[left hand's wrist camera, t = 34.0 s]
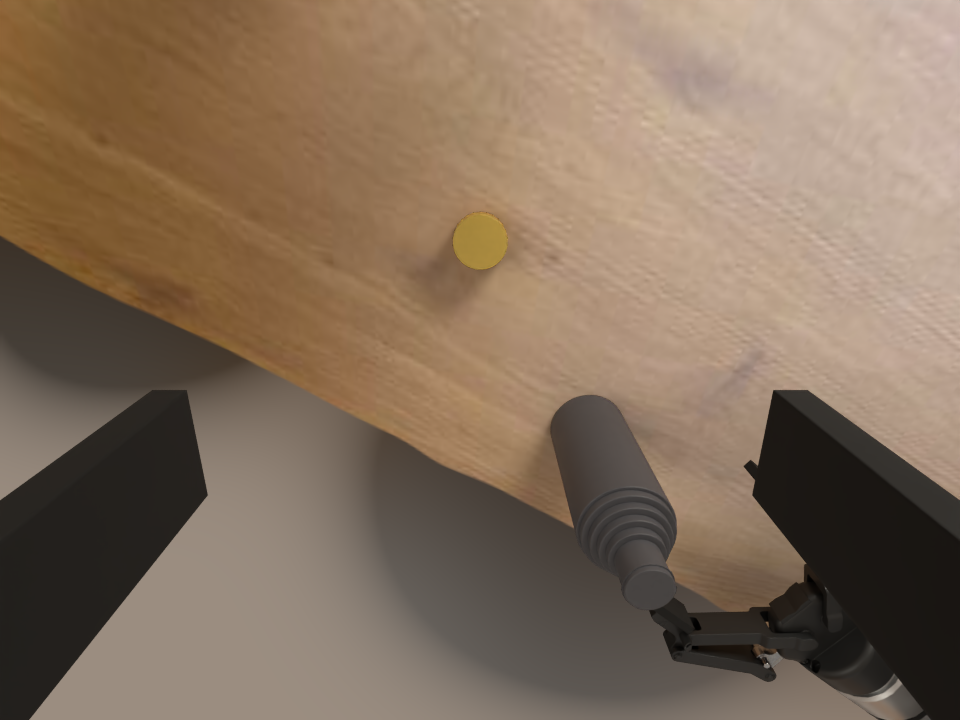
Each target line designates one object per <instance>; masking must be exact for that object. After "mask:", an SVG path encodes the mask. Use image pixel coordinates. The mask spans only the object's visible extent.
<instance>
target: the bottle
mask: <svg viewBox="0 0 960 720" xmlns="http://www.w3.org/2000/svg"><path fill="white" fill-rule="evenodd" d="M551 438H552V441H553V445H554V449H555V453H556V457H557V461H558V465H559V469H560V473H561V477H562V481H563V485H564V489H565V493H566V497H567V501H568V505H569V509H570V513H571V517H572V521H573V525H574V529H575V533H576V537H577V541H578V544H579V546H580V548H581V550H582V551H583V552H584V554H585V555H586V556H587V557H588V558H589V560H590V561H591V562H592V563H594V564H595V565H596V566H598V567H599V568H601V569H603V570H605V571H607V572H609V573H611V574H613V575H615V576H617V577H619V579H620V582H621V585H622V587H621V588H622V589H621V590H622V594H623V596H624V598H625V600H626V601H627V602H628V603H630V604H631V605H632V606H634V607H635V608H638V609H641V610H654V609H658V608H660V607H663V606H664V605H666V604H667V603H668V602H669V601H670V600H671V599H672V598H673V597H674V595H675V593H676V589H677V587H676V586H675V579H674V576H673V574H672V572H671V571H670V570H669V569H668V566H667V564H666V560H667V559H668V556H669V554H670V552H671V550H672V548H673V545H674V543H675V540H676V534H677V527H676V526H677V524H676V516H675V512H674V510H673V508H672V506H671V504H670V502H669V500H668V499H667V497H666V495H665V493H664V491H663V489H662V488H661V486H660V484H659V482H658V480H657V478H656V477H655V475H654V473H653V471H652V469H651V467H650V465H649V464H648V462H647V460H646V458H645V456H644V454H643V453H642V451H641V449H640V447H639V445H638V443H637V441H636V440H635V438H634V436H633V434H632V432H631V430H630V429H629V427H628V425H627V423H626V421H625V419H624V418H623V416H622V414H621V412H620V410H619V409H618V408H617V406H616V405H615V404H614V403H612V402H611V401H609V400H607V399H606V398H603V397H600V396H594V395H585V396H580V397H576V398H574V399H571V400H569V401H568V402H566V403H565V404H564V405H562V406H561V407H560V408H559V410H558V411H557V412H556V414H555V415H554V417H553V420H552V423H551Z"/></svg>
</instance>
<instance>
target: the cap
mask: <svg viewBox="0 0 960 720" xmlns="http://www.w3.org/2000/svg"><path fill="white" fill-rule="evenodd" d="M507 239H508V237H507V235H506V229H504V227H503V223H501V222H500V221H499V219H498V218H496V217H494V216H493V215H491V214H488V213H487V212H486V213H483V212H477V213H474V212H473V213H472V214H470V215H467V216H466V217H465V218H463V219H461V221H460V223H459V224H457V228H456V230H454V236H453V247H454V252H455V254H456V256H457V258H458V259H459V260H460V261H461V262H462V263H463V264H464V265H466V266H467V267H469V268H472V269H476V270H484V269H488V268H491V267H493V266H495V265H496V264H497V263H499V262H500V261H501V259H502V258H503V256H504V255H505V252H506V249H507V246H508V244H507Z"/></svg>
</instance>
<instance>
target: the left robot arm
mask: <svg viewBox="0 0 960 720" xmlns="http://www.w3.org/2000/svg"><path fill="white" fill-rule="evenodd" d="M207 495H208V494H207V489H206V484H205V479H204V474H203V469H202V464H201V459H200V454H199V449H198V444H197V439H196V434H195V429H194V425H193V419H192V414H191V410H190V405H189V400H188V395H187V390H152V391H151V392H149V393H148V394H146V395H145V396H144V397H142V398H141V399H140V400H138V401H137V402H135V403H134V404H133V405H131V406H130V407H129V408H127V409H126V410H124V411H123V412H122V413H120V414H119V415H117V416H116V417H115V418H113V419H112V420H111V421H109V422H108V423H106V424H105V425H104V426H102V427H101V428H100V429H98V430H97V431H95V432H94V433H93V434H91V435H90V436H88V437H87V438H86V439H84V440H83V441H82V442H80V443H79V444H77V445H76V446H75V447H73V448H72V449H71V450H69V451H68V452H66V453H65V454H64V455H62V456H61V457H60V458H58V459H57V460H55V461H54V462H53V463H51V464H50V465H48V466H47V467H46V468H44V469H43V470H42V471H40V472H39V473H37V474H36V475H35V476H33V477H32V478H30V479H29V480H28V481H26V482H25V483H24V484H22V485H21V486H19V487H18V488H17V489H15V490H14V491H13V492H11V493H10V494H8V495H7V496H6V497H4V498H3V499H1V500H0V720H29V719H30V718H31V717H32V715H33V714H34V713H35V712H36V710H37V709H38V708H39V707H40V705H41V704H42V703H43V702H44V700H45V699H46V698H47V697H48V695H49V694H50V693H51V692H52V690H53V689H54V688H55V687H56V685H57V684H58V683H59V682H60V680H61V679H62V678H63V677H64V675H65V674H66V673H67V671H68V670H69V669H70V668H71V666H72V665H73V664H74V663H75V661H76V660H77V659H78V658H79V656H80V655H81V654H82V653H83V651H84V650H85V649H86V648H87V646H88V645H89V644H90V643H91V641H92V640H93V639H94V637H95V636H96V635H97V634H98V632H99V631H100V630H101V629H102V627H103V626H104V625H105V624H106V622H107V621H108V620H109V619H110V617H111V616H112V615H113V614H114V612H115V611H116V610H117V609H118V607H119V606H120V605H121V604H122V602H123V601H124V600H125V599H126V597H127V596H128V595H129V594H130V592H131V591H132V590H133V589H134V587H135V586H136V585H137V583H138V582H139V581H140V580H141V578H142V577H143V576H144V575H145V573H146V572H147V571H148V570H149V568H150V567H151V566H152V565H153V563H154V562H155V561H156V560H157V558H158V557H159V556H160V555H161V553H162V552H163V551H164V550H165V548H166V547H167V546H168V545H169V543H170V542H171V541H172V539H173V538H174V537H175V536H176V534H177V533H178V532H179V531H180V529H181V528H182V527H183V526H184V524H185V523H186V522H187V521H188V519H189V518H190V517H191V516H192V514H193V513H194V512H195V511H196V509H197V508H198V507H199V506H200V504H201V503H202V502H203V501H204V499H205V498H206V497H207ZM752 495H753V497H754V498H755V499H756V501H757V502H758V503H759V504H760V506H761V507H762V508H763V509H764V511H765V512H766V513H767V514H768V516H769V517H770V518H771V519H772V521H773V522H774V523H775V524H776V526H777V527H778V528H779V529H780V531H781V532H782V533H783V534H784V536H785V537H786V538H787V539H788V541H789V542H790V543H791V545H792V546H793V547H794V548H795V550H796V551H797V552H798V553H799V555H800V556H801V557H802V558H803V560H804V561H805V562H806V563H807V565H808V566H809V567H810V568H811V570H812V571H813V572H814V573H815V575H816V576H817V577H818V578H819V580H820V581H821V582H822V583H823V585H824V586H825V587H826V589H827V590H828V591H829V592H830V594H831V595H832V596H833V597H834V599H835V600H836V601H837V602H838V604H839V605H840V606H841V607H842V609H843V610H844V611H845V612H846V614H847V615H848V616H849V617H850V619H851V620H852V621H853V622H854V624H855V625H856V626H857V627H858V629H859V630H860V631H861V633H862V634H863V635H864V636H865V638H866V639H867V640H868V641H869V643H870V644H871V645H872V646H873V648H874V649H875V650H876V651H877V653H878V654H879V655H880V656H881V658H882V659H883V660H884V661H885V663H886V664H887V665H888V666H889V668H890V669H891V670H892V671H893V673H894V674H895V675H896V677H897V678H898V679H899V680H900V682H901V683H902V684H903V685H904V687H905V688H906V689H907V690H908V692H909V693H910V694H911V695H912V697H913V698H914V699H915V700H916V702H917V703H918V704H919V705H920V707H921V708H922V709H923V710H924V712H925V713H926V714H927V715H928V717H929V718H930V719H931V720H960V500H959V499H957V498H956V497H954V496H953V495H952V494H950V493H949V492H947V491H946V490H945V489H943V488H942V487H941V486H939V485H938V484H936V483H935V482H934V481H932V480H931V479H930V478H928V477H927V476H925V475H924V474H923V473H921V472H920V471H918V470H917V469H916V468H914V467H913V466H912V465H910V464H909V463H907V462H906V461H905V460H903V459H902V458H901V457H899V456H898V455H896V454H895V453H894V452H892V451H891V450H890V449H888V448H887V447H885V446H884V445H883V444H881V443H880V442H878V441H877V440H876V439H874V438H873V437H872V436H870V435H869V434H867V433H866V432H865V431H863V430H862V429H861V428H859V427H858V426H856V425H855V424H854V423H852V422H851V421H849V420H848V419H847V418H845V417H844V416H843V415H841V414H840V413H838V412H837V411H836V410H834V409H833V408H832V407H830V406H829V405H827V404H826V403H825V402H823V401H822V400H820V399H819V398H818V397H816V396H815V395H814V394H812V393H811V392H809V391H808V390H773V395H772V400H771V405H770V410H769V414H768V419H767V424H766V429H765V434H764V439H763V444H762V449H761V454H760V459H759V464H758V469H757V474H756V479H755V484H754V489H753V494H752Z"/></svg>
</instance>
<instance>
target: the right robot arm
mask: <svg viewBox="0 0 960 720" xmlns="http://www.w3.org/2000/svg"><path fill="white" fill-rule="evenodd" d="M744 468H745V469H746V470H747V471H748V472H749V473H750V475H751V476H752V477H753V478H754V479H756V474H757V469H758V466H757V465H756V464H755V463H754V462H753V461H751V460H750V461H749V462H748V463H747V464H746V465H744ZM769 605H770V607H752V608H750V610H749V611H748V612H710V613H687V611H686V608H685V606H684V604H682V603H681V602H679V601H678V600H677V599H675V598H674V597H673V598H672V599H671V600H670V601H669V602H668V603H667V604H666V605H664V606H663V607H660V608H658V609H654V610H649V611H650V614H651V617H652V618H653V620H654V621H655V622H656V623H657V624H659V625H660V626H662V627H663V628H665V629H666V630H665V631H664V633H663V636H664V638H665V641H666V644H667V646H668V649H669V652H670V654H671V657H672V659H673V660H674V661H678V662H684V663H690V664H696V665H702V666H708V667H714V668H720V669H727V670H732V671H738V672H744V673H750V674H752V675H754V676H756V677H758V678H760V679H762V680H764V681H767V682H770V681H773V680H774V679H775V678H776V673H775V672H774V670H773V667H774V666H775V665H777V664H778V663H779V662H780V661H781V660H782V659H783V658H785V659H789V660H795V661H798V662H799V663H800V664H801V665H803V666H804V667H805V668H806V669H808V670H809V671H810V672H812V673H813V674H814V675H816V676H817V677H819V678H820V679H821V680H823V681H824V682H826V683H827V684H828V685H830V686H831V687H833V688H834V689H836V690H837V691H838V692H839V693H841V694H842V695H844V696H845V697H846V698H848V699H849V700H851V701H852V702H854V703H855V704H857V705H858V706H860V707H861V708H862V709H864V710H865V711H866V712H868V713H869V714H870V715H872V716H874V717H875V718H876V719H878V720H931V719H930V718H929V717H928V715H927V714H926V713H925V712H924V710H923V709H922V708H921V707H920V705H919V704H918V703H917V702H916V700H915V699H914V698H913V697H912V695H911V694H910V693H909V692H908V690H907V689H906V688H905V687H904V685H903V684H902V683H901V682H900V680H899V679H898V678H897V677H896V675H895V674H894V673H893V671H892V670H891V669H890V668H889V666H888V665H887V664H886V663H885V661H884V660H883V659H882V658H881V656H880V655H879V654H878V653H877V651H876V650H875V649H874V648H873V646H872V645H871V644H870V643H869V641H868V640H867V639H866V638H865V636H864V635H863V634H862V633H861V631H860V630H859V629H858V627H857V626H856V625H855V624H854V622H853V621H852V620H851V619H850V617H849V616H848V615H847V614H846V612H845V611H844V610H843V609H842V607H841V606H840V605H839V604H838V602H837V601H836V600H835V599H834V597H833V596H832V595H831V594H830V592H829V591H828V590H827V589H826V587H825V586H824V585H823V583H822V582H821V581H820V580H819V578H818V577H817V576H816V575H815V573H814V572H813V571H812V570H811V568H810V567H809V566H808V565H807V564H805V565H804V582H802V583H800V584H798V583H797V582H796V583H794V584H793V585H792V586H791V587H789V589H788V590H787V591H786V592H785V594H784V595H782V596H780V597H778V598H776V599H774V600H773V601H772V602H771V603H769ZM765 622H769V628H768V626H767V624H766V623H765ZM759 645H761V646H759Z"/></svg>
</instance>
